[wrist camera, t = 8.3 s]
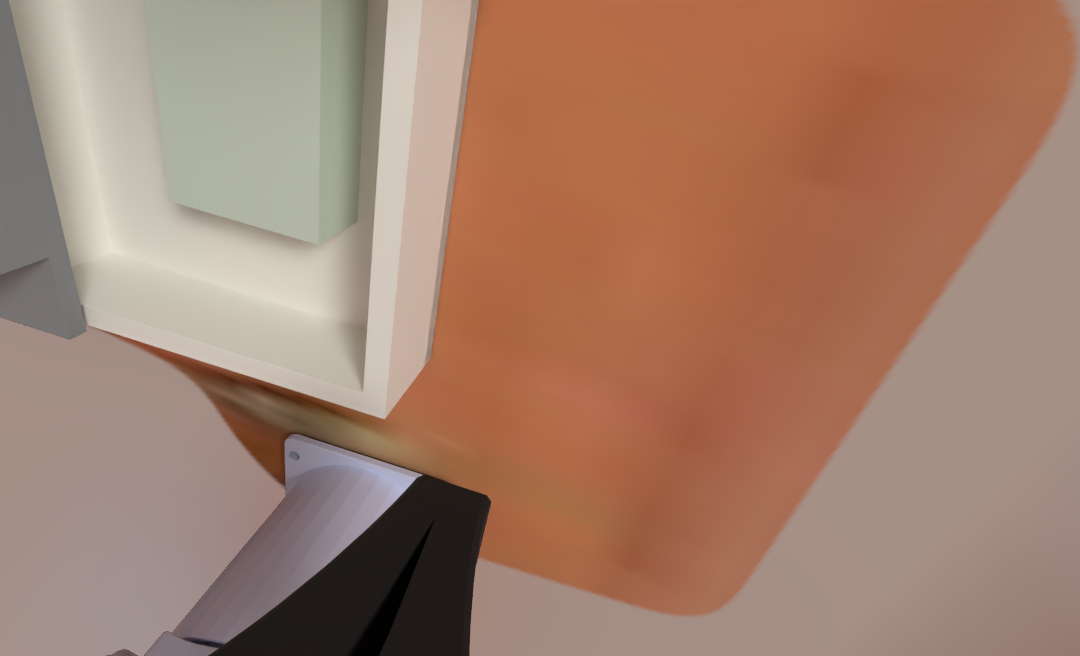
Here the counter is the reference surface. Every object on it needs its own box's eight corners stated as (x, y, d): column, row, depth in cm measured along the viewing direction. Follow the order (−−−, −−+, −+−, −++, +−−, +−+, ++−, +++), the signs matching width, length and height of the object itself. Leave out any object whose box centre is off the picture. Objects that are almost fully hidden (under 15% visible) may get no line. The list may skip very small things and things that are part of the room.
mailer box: (430, 357, 22) (384, 419, 18) (110, 259, 23) (9, 300, 19) (516, -282, 13) (458, -398, 9) (-17, -392, 14) (-246, -532, 10)
